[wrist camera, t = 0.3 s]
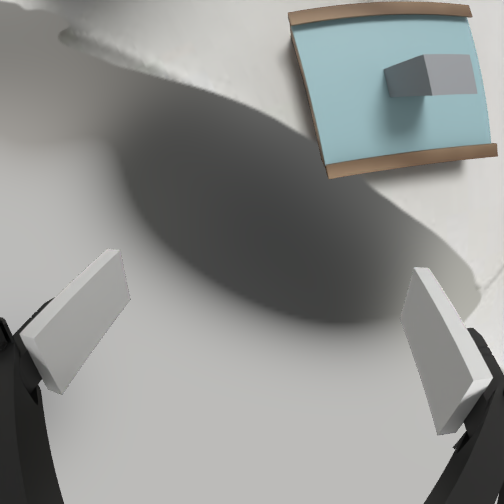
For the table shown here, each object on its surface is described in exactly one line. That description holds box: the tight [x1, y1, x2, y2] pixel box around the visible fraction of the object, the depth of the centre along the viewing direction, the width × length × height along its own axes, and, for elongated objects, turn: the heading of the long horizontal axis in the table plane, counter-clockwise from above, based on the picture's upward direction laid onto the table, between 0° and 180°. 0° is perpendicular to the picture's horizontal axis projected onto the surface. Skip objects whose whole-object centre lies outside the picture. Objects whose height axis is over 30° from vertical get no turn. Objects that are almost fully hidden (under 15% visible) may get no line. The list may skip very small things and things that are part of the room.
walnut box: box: [288, 2, 498, 179], centre depth 29 cm, size 17×20×8 cm
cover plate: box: [291, 15, 491, 166], centre depth 22 cm, size 15×20×12 cm
